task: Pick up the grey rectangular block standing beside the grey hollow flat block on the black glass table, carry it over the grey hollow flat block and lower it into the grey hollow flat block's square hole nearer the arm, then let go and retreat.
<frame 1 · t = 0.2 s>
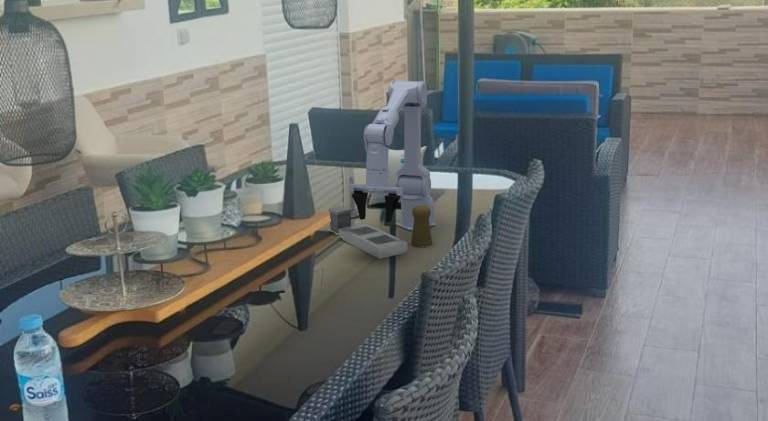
hand: (375, 220, 242), 11 cm above the table, tool pointing down, fingers open, 7 cm apart
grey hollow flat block: (372, 245, 255), on the table
pouch: (397, 207, 294), on the table
grey rectangular block: (340, 232, 268), on the table
screw: (352, 217, 283), on the table
cork: (421, 244, 255), on the table
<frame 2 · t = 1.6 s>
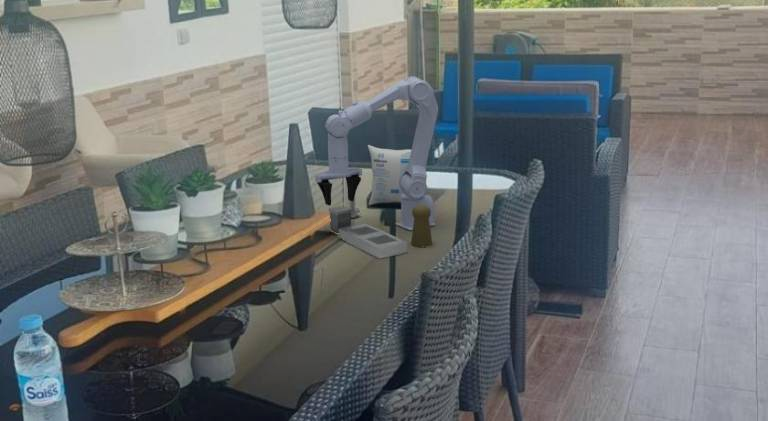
hand: (339, 202, 265), 9 cm above the table, tool pointing down, fingers open, 7 cm apart
nothing on the table moved.
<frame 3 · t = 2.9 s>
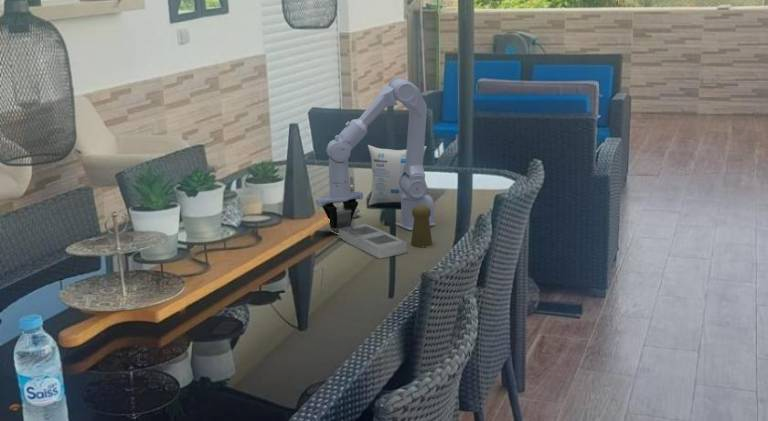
hand: (340, 226, 267), 2 cm above the table, tool pointing down, fingers closed on grey rectangular block, 5 cm apart
grey rectangular block: (340, 232, 268), on the table, touching gripper
everything else where it was.
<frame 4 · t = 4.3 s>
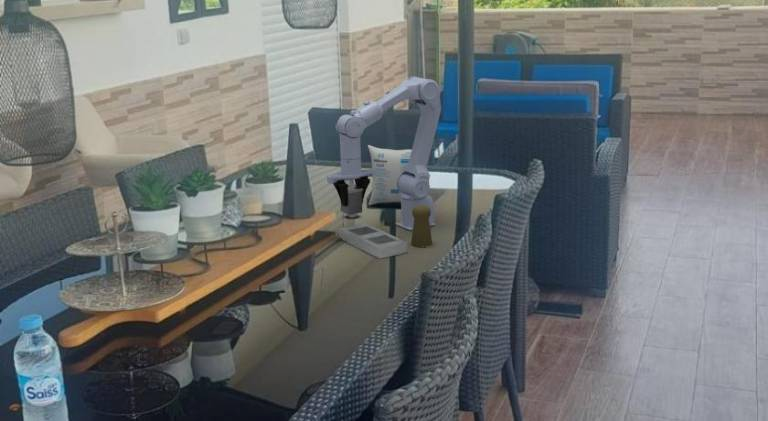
hand: (352, 204, 260), 10 cm above the table, tool pointing down, fingers closed on grey rectangular block, 5 cm apart
grey rectangular block: (351, 211, 261), point 8 cm above the table, touching gripper
everything else where it was.
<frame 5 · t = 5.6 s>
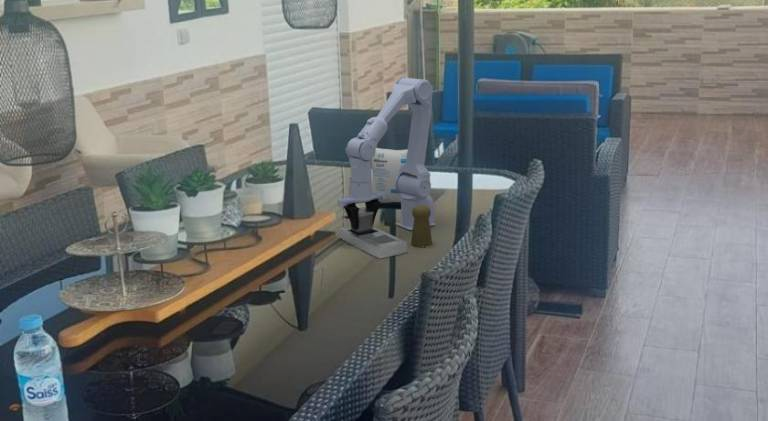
hand: (362, 227, 258), 4 cm above the table, tool pointing down, fingers closed on grey rectangular block, 5 cm apart
grey rectangular block: (361, 234, 259), point 2 cm above the table, touching gripper
everything else where it was.
when the fingers open (3 cm above the table, at t = 6.2 s): grey rectangular block drops 1 cm, resting in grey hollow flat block.
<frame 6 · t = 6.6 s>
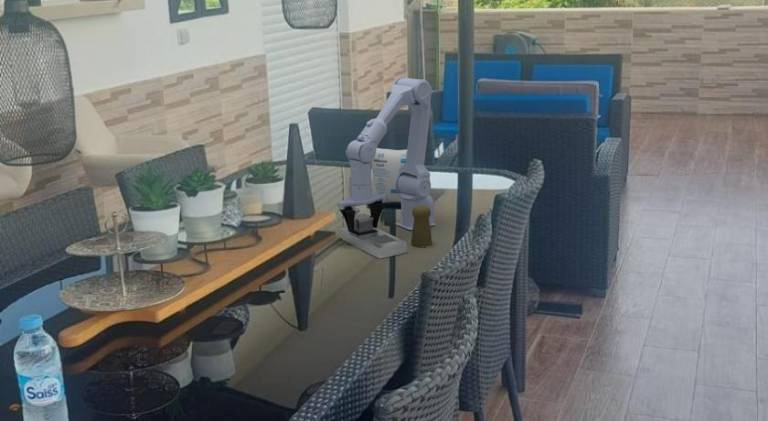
hand: (362, 229, 258), 3 cm above the table, tool pointing down, fingers open, 7 cm apart
grey rectangular block: (362, 240, 259), resting in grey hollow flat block
everything else where it was.
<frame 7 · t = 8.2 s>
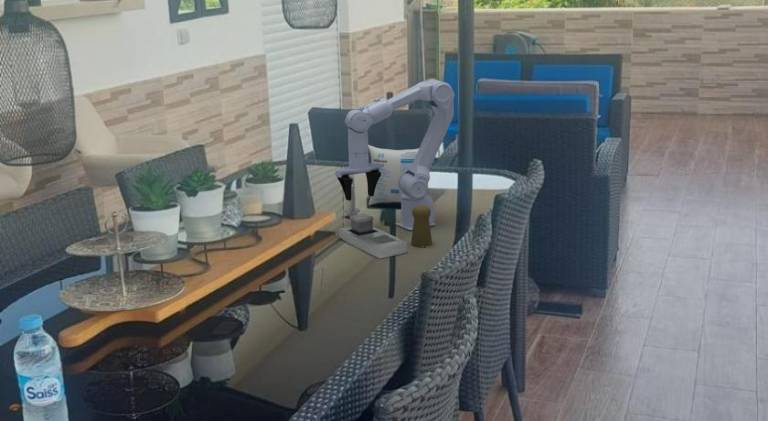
hand: (359, 197, 265), 10 cm above the table, tool pointing down, fingers open, 7 cm apart
nothing on the table moved.
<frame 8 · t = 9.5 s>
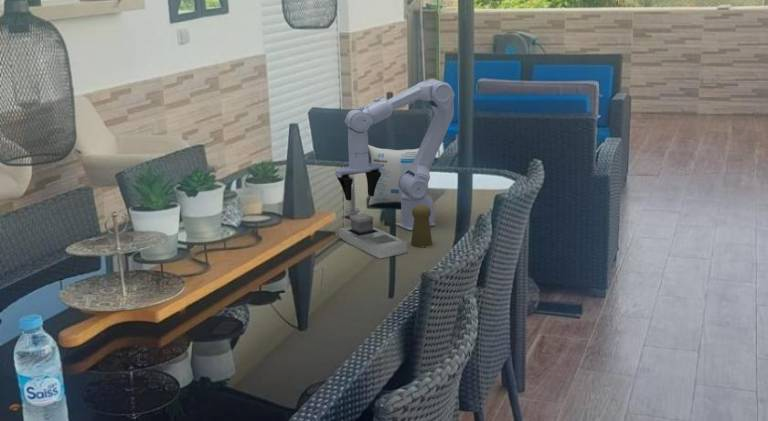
hand: (359, 197, 265), 10 cm above the table, tool pointing down, fingers open, 7 cm apart
nothing on the table moved.
at the end: grey rectangular block 0.4 cm from the target spot on the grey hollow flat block, point 0.0 cm above the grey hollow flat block's base; grey rectangular block tilted 0°; the gripper is holding nothing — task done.
